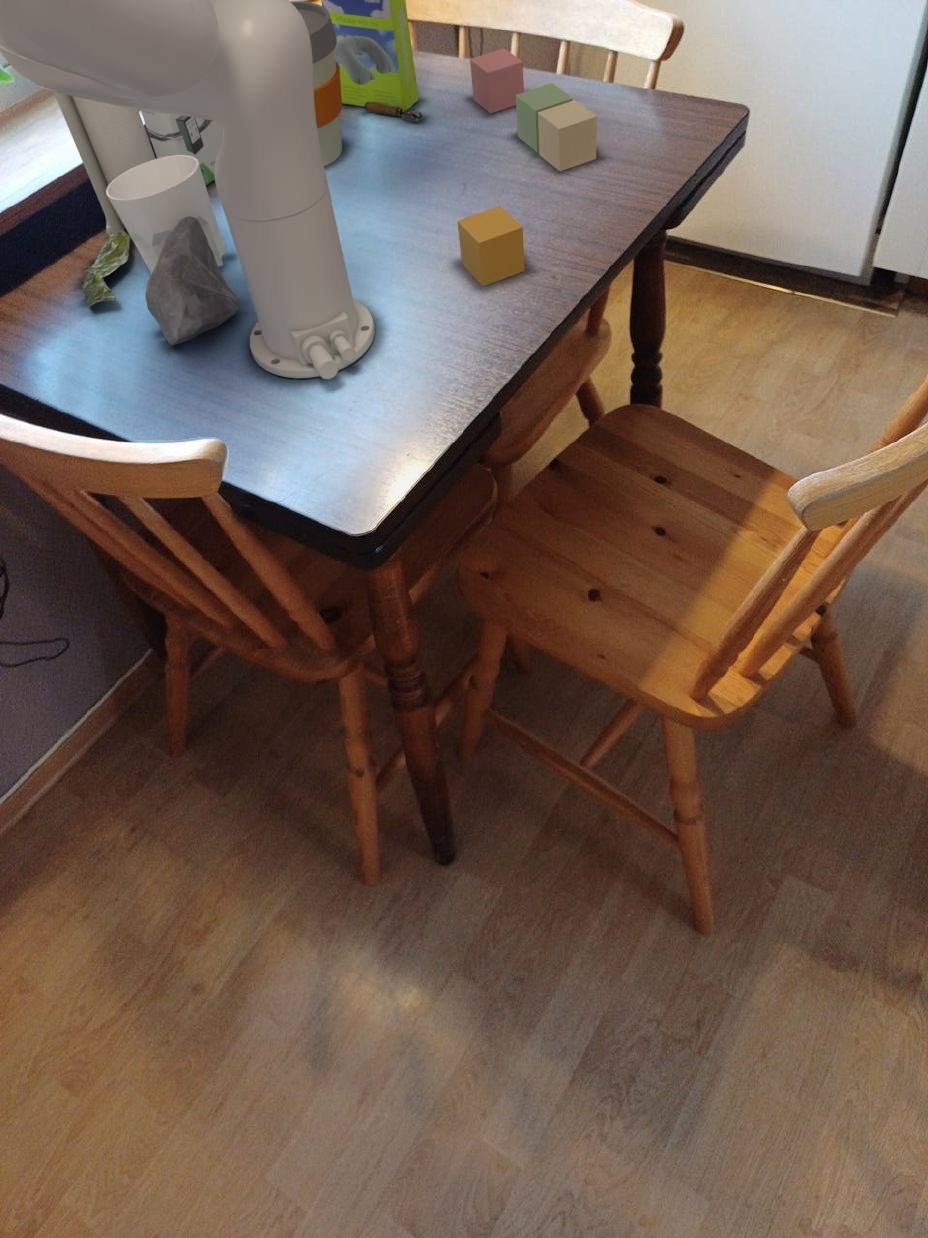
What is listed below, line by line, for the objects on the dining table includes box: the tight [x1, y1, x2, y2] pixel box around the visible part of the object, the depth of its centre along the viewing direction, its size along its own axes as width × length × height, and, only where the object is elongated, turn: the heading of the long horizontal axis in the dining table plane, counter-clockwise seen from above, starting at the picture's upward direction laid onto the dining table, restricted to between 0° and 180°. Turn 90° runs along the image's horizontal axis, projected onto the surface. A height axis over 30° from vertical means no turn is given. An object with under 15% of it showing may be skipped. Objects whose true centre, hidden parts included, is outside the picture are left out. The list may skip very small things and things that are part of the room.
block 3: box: [538, 99, 598, 173], centre depth 111 cm, size 5×5×5 cm
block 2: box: [515, 82, 574, 154], centre depth 114 cm, size 5×5×5 cm
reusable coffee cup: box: [290, 0, 343, 167], centre depth 114 cm, size 12×13×15 cm
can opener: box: [364, 102, 424, 123], centre depth 123 cm, size 9×2×1 cm, turn 55°
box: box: [320, 0, 419, 111], centre depth 120 cm, size 10×4×17 cm, turn 63°
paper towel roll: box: [53, 92, 157, 239], centre depth 104 cm, size 7×6×21 cm
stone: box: [144, 216, 240, 346], centre depth 97 cm, size 12×11×10 cm
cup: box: [106, 155, 227, 275], centre depth 102 cm, size 10×10×10 cm
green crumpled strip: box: [80, 215, 131, 309], centre depth 109 cm, size 6×25×2 cm, turn 179°
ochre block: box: [457, 205, 526, 287], centre depth 99 cm, size 5×5×5 cm
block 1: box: [469, 48, 525, 115], centre depth 121 cm, size 5×5×5 cm
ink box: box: [140, 110, 223, 186], centre depth 114 cm, size 9×5×12 cm, turn 146°
